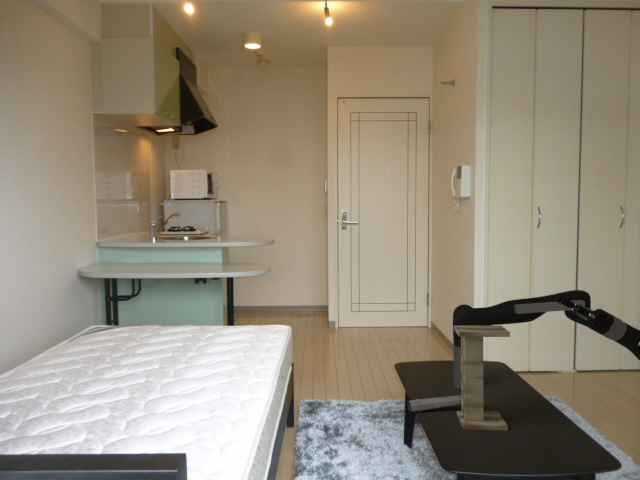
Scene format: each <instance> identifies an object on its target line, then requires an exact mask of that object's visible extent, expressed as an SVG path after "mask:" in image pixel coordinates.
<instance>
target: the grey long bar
mask: <svg viewBox="0 0 640 480" xmlns="http://www.w3.org/2000/svg"><path fill="white" fill-rule="evenodd" d="M571 302H573V303H577V304H578V305H582V306H585V301H582V300H575V301H571ZM566 310H571V309H570V308H568V307H566V306H565V305H563V304H561V303H560V302H546V303H531V304H517V305H514V312H515V313H516V314H521V313H536V312H546V313H548V312H564V311H566Z"/></svg>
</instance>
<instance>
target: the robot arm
mask: <svg viewBox="0 0 640 480" xmlns="http://www.w3.org/2000/svg"><path fill="white" fill-rule="evenodd" d="M575 300H582V301H585V306H582V305H578V304H577V303H573V302H571V301H575ZM546 302H560V303H561V304H563V305H565V306H566V307H568V308H570V309H571V310H566V311H563V312H564V315H565V317H566V318H567V319H569V320H571V322H572V321H573V322H575V323H577V324H580V325H582V326H584V327H586V328H588V329H590V330H592V331H594V332H595V333H597V334H599V335H601V336H602V337H605V338H606V339H608V340H611V341H613V342H615V343H617V344H618V345H621V346H622V347H624V348H625V349H627V350H628V351H629V352H630V353H631V354H632V355H634V356H635V358H636V359H637V360H638V361H640V329H638V328H636V327H634V326H632V325H631V324H628V323H626V322H625V321H623V320H622V319H620V318H619V317H617V316H615V315H613V314H612V313H609V312H608V311H606V310H604V309H602V308H597V309H595V310H593V309H591V308H592V306H591V305H592V304H591V303H592V300H591V295H590V293H589V292H588V291H585V290H581V289H574V290H567V291H562V292H559V293H553V294H548V295H543V296H536V297H528V298H518V299H511V300H506V301H503V302H500V303H497V304H494V305H491V306H487V307H486V306H485V307H473V306H471V305H468V304H460V305H458V306H456V307H455V309H454V310H453V313H452V338H453V339H452V340H453V341H452V342H453V387H454V388H455V389H458V390H461V337H459V335H458V334H457V333H456V332H455V331H454V326H474V325H501V326H503V325H513V324H523V323H529V322H533V321H536V320H537V319H539V318H540V317H542V316H543V315H545V314H546V313H547V312H536V313H521V314H516V313H515V312H514V305H517V304H531V303H546Z"/></svg>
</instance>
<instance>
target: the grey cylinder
mask: <svg viewBox="0 0 640 480" xmlns="http://www.w3.org/2000/svg"><path fill="white" fill-rule="evenodd" d="M457 405H460V406H461V394H459V395H458V394H457V395H447V396H440V397H428V398H421V399H418V398H416V399H413V400H407V408H408V411H409V413H415V412H419V413H421V412H422V411H428V410H433V409H434V410H435V409H441V408H445V407H452V406H457Z"/></svg>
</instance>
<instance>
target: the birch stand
mask: <svg viewBox="0 0 640 480" xmlns="http://www.w3.org/2000/svg"><path fill="white" fill-rule="evenodd" d="M454 331H455V332H456V333H457V334H458V335H459V337H461V389H460V390H461V392H460V395H461V405H460V406H461V407H460V409H461V410H456V415H457V418H458V420H459V423H460V424H461V426H462V428H463V430H464V431H465V430H466V431H468V430H469V431H508V430H509V426H508V424H507V422H506V421H505V420H504V417H502V416H501V414H500V412H499V411H498V410H487V411H486V410H484V407H485V406H484V403H485V402H484V401H485V400H484V338H510V337H511V332H510V331H509V330H508V329H506V327H504V326H503V325H474V326H454Z"/></svg>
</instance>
